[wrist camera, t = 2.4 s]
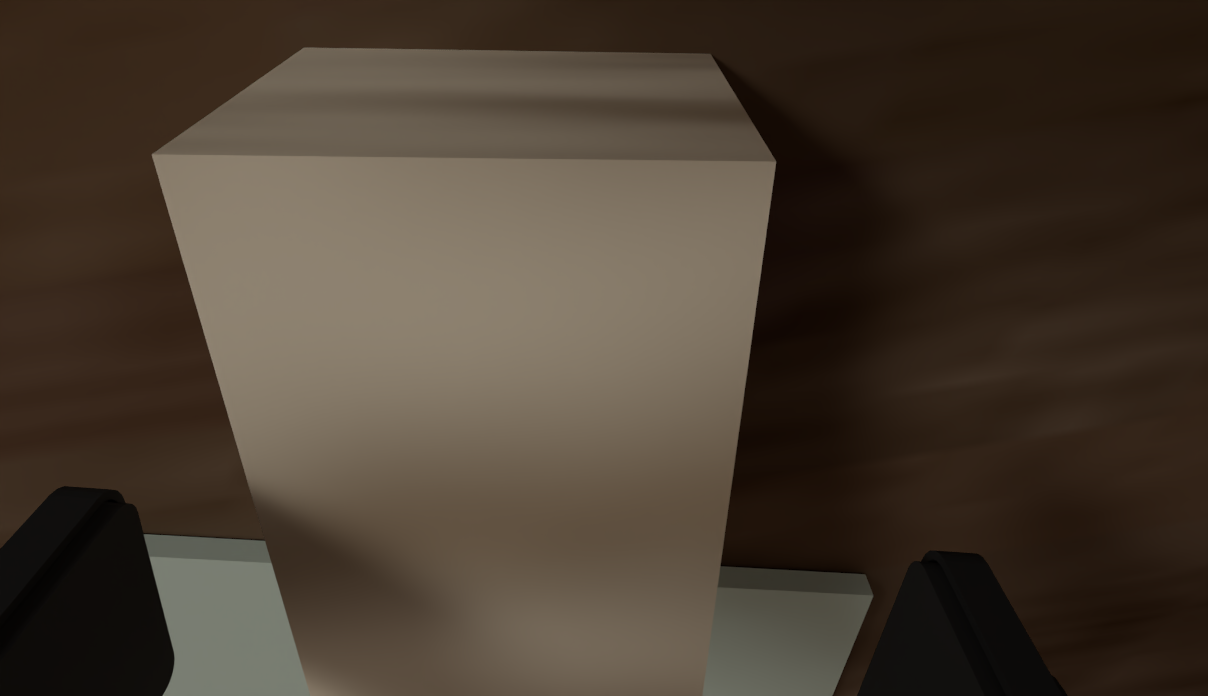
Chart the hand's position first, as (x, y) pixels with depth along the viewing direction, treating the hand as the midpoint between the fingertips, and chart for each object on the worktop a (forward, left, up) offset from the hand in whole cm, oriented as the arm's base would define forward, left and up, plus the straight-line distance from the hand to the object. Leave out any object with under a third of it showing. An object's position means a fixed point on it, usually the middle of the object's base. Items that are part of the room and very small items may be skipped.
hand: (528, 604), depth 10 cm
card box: (-1, -1, -6) cm, 6 cm away
